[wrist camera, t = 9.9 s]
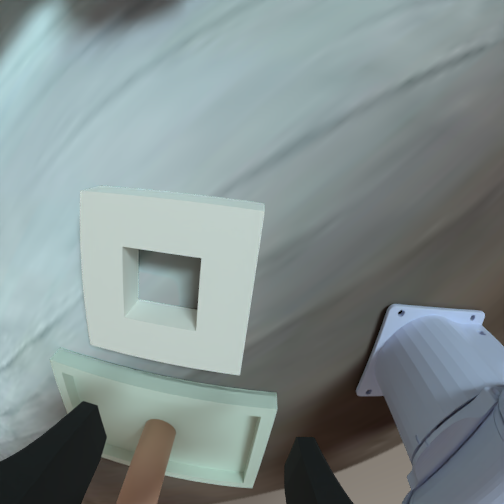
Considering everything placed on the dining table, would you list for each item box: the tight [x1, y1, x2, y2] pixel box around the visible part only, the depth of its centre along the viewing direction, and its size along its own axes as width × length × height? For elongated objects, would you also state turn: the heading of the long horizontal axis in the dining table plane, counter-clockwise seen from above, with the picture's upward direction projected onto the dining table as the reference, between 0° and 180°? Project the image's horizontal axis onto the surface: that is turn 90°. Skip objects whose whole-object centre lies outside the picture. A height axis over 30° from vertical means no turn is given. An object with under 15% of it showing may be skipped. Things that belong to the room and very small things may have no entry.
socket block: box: [80, 186, 265, 375], centre depth 17 cm, size 10×10×2 cm
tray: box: [50, 348, 277, 488], centre depth 22 cm, size 18×13×2 cm
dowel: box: [116, 419, 176, 504], centre depth 18 cm, size 3×3×9 cm
